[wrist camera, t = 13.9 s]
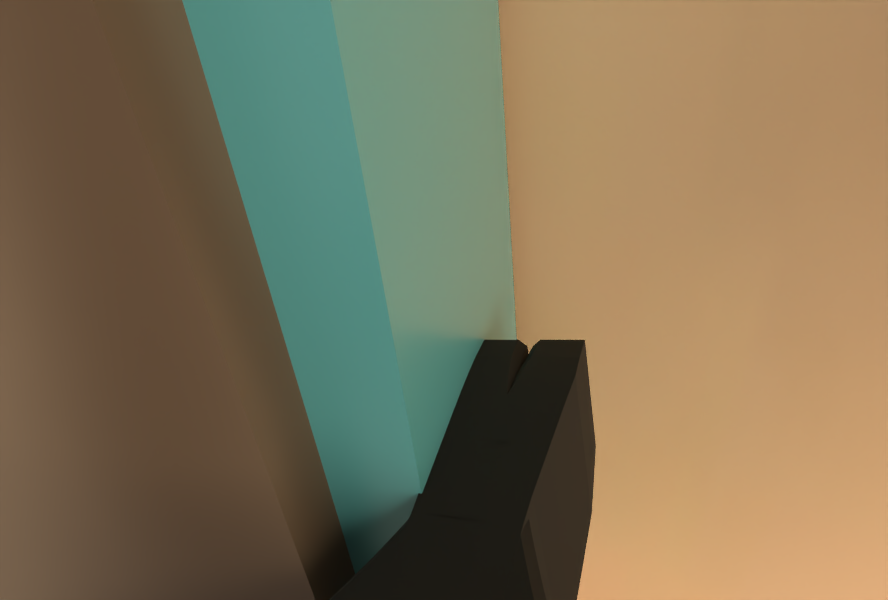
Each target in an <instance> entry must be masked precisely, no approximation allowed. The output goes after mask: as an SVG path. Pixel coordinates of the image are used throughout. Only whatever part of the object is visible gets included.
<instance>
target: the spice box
mask: <svg viewBox="0 0 888 600" xmlns="http://www.w3.org/2000/svg"><path fill="white" fill-rule="evenodd" d="M354 575H355V572H354V568H353V565H352V562H351V558H350V555H349V552H348V548H347V545H346V542H345V538H344V535H343V532H342V528H341V525H340V522H339V519H338V515H337V512H336V509H335V505H334V502H333V499H332V495H331V492H330V489H329V485H328V482H327V479H326V475H325V472H324V469H323V466H322V462H321V459H320V456H319V452H318V449H317V446H316V442H315V439H314V436H313V432H312V429H311V426H310V422H309V419H308V416H307V412H306V409H305V406H304V403H303V399H302V396H301V393H300V389H299V386H298V383H297V379H296V376H295V373H294V369H293V366H292V363H291V359H290V356H289V353H288V350H287V346H286V343H285V340H284V336H283V333H282V330H281V326H280V323H279V320H278V316H277V313H276V310H275V306H274V303H273V300H272V296H271V293H270V290H269V287H268V283H267V280H266V277H265V273H264V270H263V267H262V263H261V260H260V257H259V253H258V250H257V247H256V243H255V240H254V237H253V234H252V230H251V227H250V224H249V220H248V217H247V214H246V210H245V207H244V204H243V200H242V197H241V194H240V190H239V187H238V184H237V181H236V177H235V174H234V171H233V167H232V164H231V161H230V157H229V154H228V151H227V147H226V144H225V141H224V137H223V134H222V131H221V127H220V124H219V121H218V118H217V114H216V111H215V108H214V104H213V101H212V98H211V94H210V91H209V88H208V84H207V81H206V78H205V74H204V71H203V68H202V65H201V61H200V58H199V55H198V51H197V48H196V45H195V41H194V38H193V35H192V31H191V28H190V25H189V21H188V18H187V15H186V12H185V8H184V5H183V2H182V0H0V600H329V599H330V598H331V597H332V596H333V595H334V594H335V593H336V592H337V591H338V590H339V589H340V588H342V587H343V586H344V585H345V584H346V583H347V582H348V581H349V580H350V579H351V578H352V577H353V576H354Z"/></svg>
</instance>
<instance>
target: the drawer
mask: <svg viewBox="0 0 888 600" xmlns="http://www.w3.org/2000/svg"><path fill="white" fill-rule="evenodd" d="M182 2H183V5H184V8H185V12H186V15H187V18H188V21H189V25H190V28H191V31H192V35H193V38H194V41H195V45H196V48H197V51H198V55H199V58H200V61H201V65H202V68H203V71H204V74H205V78H206V81H207V84H208V88H209V91H210V94H211V98H212V101H213V104H214V108H215V111H216V114H217V118H218V121H219V124H220V127H221V131H222V134H223V137H224V141H225V144H226V147H227V151H228V154H229V157H230V161H231V164H232V167H233V171H234V174H235V177H236V181H237V184H238V187H239V190H240V194H241V197H242V200H243V204H244V207H245V210H246V214H247V217H248V220H249V224H250V227H251V230H252V234H253V237H254V240H255V243H256V247H257V250H258V253H259V257H260V260H261V263H262V267H263V270H264V273H265V277H266V280H267V283H268V287H269V290H270V293H271V296H272V300H273V303H274V306H275V310H276V313H277V316H278V320H279V323H280V326H281V330H282V333H283V336H284V340H285V343H286V346H287V350H288V353H289V356H290V359H291V363H292V366H293V369H294V373H295V376H296V379H297V383H298V386H299V389H300V393H301V396H302V399H303V403H304V406H305V409H306V412H307V416H308V419H309V422H310V426H311V429H312V432H313V436H314V439H315V442H316V446H317V449H318V452H319V456H320V459H321V462H322V466H323V469H324V472H325V475H326V479H327V482H328V485H329V489H330V492H331V495H332V499H333V502H334V505H335V509H336V512H337V515H338V519H339V522H340V525H341V528H342V532H343V535H344V538H345V542H346V545H347V548H348V552H349V555H350V558H351V562H352V565H353V568H354V572H355V574H356V573H357V572H358V571H359V570H360V569H361V568H362V567H363V566H364V565H365V564H366V563H367V562H368V561H369V560H370V559H371V558H372V557H373V556H374V555H375V554H376V553H377V552H378V551H379V550H380V549H381V548H382V547H383V546H384V545H385V544H386V543H387V542H388V541H389V540H390V539H391V537H392V536H393V535H394V534H395V533H396V532H397V531H398V530H399V529H400V528H401V527H402V526H403V524H404V523H405V522H406V521H407V520H408V519H409V517H410V515H411V512H412V509H413V507H414V504H415V501H416V499H417V496H418V493H420V494H422V492H423V490H424V487H425V485H426V482H427V479H428V477H429V474H430V471H431V469H432V466H433V463H434V461H435V458H436V455H437V453H438V450H439V448H440V445H441V442H442V440H443V437H444V434H445V432H446V429H447V426H448V424H449V421H450V418H451V416H452V413H453V411H454V408H455V405H456V403H457V400H458V398H459V395H460V393H461V390H462V387H463V385H464V382H465V380H466V378H467V375H468V373H469V370H470V368H471V366H472V364H473V361H474V359H475V357H476V355H477V353H478V351H479V349H480V347H481V345H482V343H483V341H484V340H517V336H516V318H515V300H514V281H513V263H512V245H511V227H510V208H509V190H508V172H507V154H506V135H505V117H504V99H503V81H502V62H501V44H500V26H499V8H498V0H182Z"/></svg>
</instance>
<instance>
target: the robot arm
mask: <svg viewBox="0 0 888 600" xmlns="http://www.w3.org/2000/svg"><path fill="white" fill-rule="evenodd" d="M595 447H596V444H595V435H594V425H593V415H592V406H591V396H590V386H589V376H588V367H587V357H586V347H585V340H540V341H538V342H537V343H536V344H535V345H534V346H533V347H532V349H531V351H530V353H529V354H528V348H527V346H526V345H525V344H523V343H522V342H521V341H519V340H484V341H483V343H482V345H481V347H480V349H479V351H478V353H477V355H476V357H475V359H474V361H473V364H472V366H471V368H470V370H469V373H468V375H467V378H466V380H465V382H464V385H463V387H462V390H461V393H460V395H459V398H458V400H457V403H456V405H455V408H454V411H453V413H452V416H451V418H450V421H449V424H448V426H447V429H446V432H445V434H444V437H443V440H442V442H441V445H440V448H439V450H438V453H437V455H436V458H435V461H434V463H433V466H432V469H431V471H430V474H429V477H428V479H427V482H426V485H425V487H424V490H423V492H422V494H420V493H418V496H417V499H416V501H415V504H414V507H413V509H412V512H411V515H410V517H409V519H408V520H407V521H406V522H405V523H404V524H403V526H402V527H401V528H400V529H399V530H398V531H397V532H396V533H395V534H394V535H393V536H392V537H391V539H390V540H389V541H388V542H387V543H386V544H385V545H384V546H383V547H382V548H381V549H380V550H379V551H378V552H377V553H376V554H375V555H374V556H373V557H372V558H371V559H370V560H369V561H368V562H367V563H366V564H365V565H364V566H363V567H362V568H361V569H360V570H359V571H358V572H357V573H356V574H355V575H354V576H353V577H352V578H351V579H350V580H349V581H348V582H347V583H346V584H345V585H344V586H343V587H342V588H340V589H339V590H338V591H337V592H336V593H335V594H334V595H333V596H332V597H331V598H330V599H329V600H577V595H578V589H579V583H580V578H581V572H582V566H583V561H584V555H585V549H586V543H587V537H588V531H589V525H590V519H591V513H592V499H593V483H594V465H595Z"/></svg>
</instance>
